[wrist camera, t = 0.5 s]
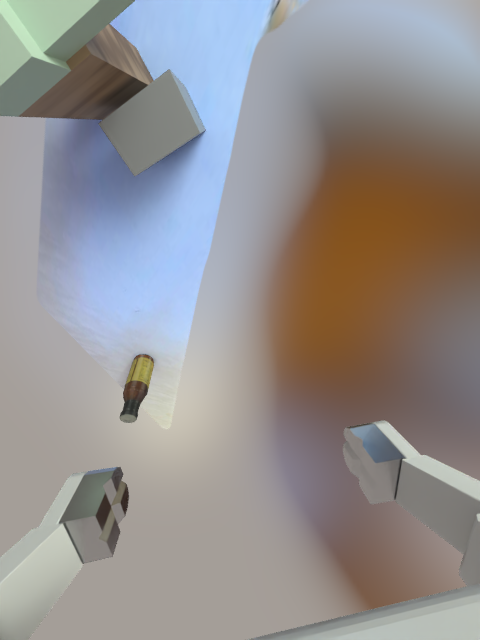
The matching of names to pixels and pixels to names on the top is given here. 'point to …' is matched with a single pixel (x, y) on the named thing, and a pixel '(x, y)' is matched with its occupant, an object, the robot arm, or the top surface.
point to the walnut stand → (95, 80)
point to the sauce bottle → (136, 387)
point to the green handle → (44, 44)
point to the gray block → (153, 123)
